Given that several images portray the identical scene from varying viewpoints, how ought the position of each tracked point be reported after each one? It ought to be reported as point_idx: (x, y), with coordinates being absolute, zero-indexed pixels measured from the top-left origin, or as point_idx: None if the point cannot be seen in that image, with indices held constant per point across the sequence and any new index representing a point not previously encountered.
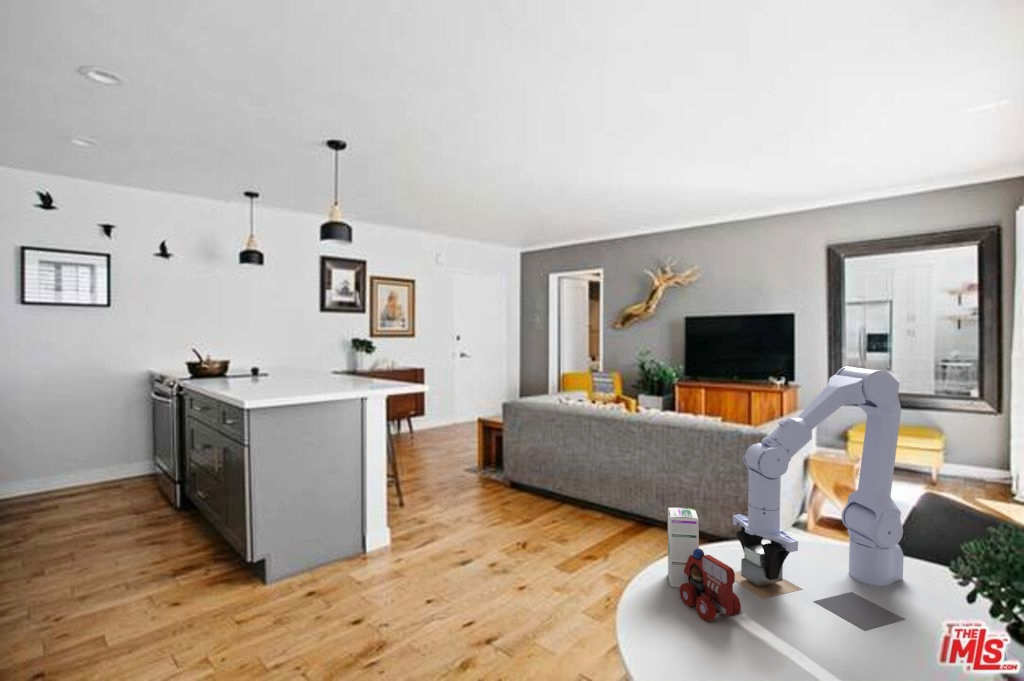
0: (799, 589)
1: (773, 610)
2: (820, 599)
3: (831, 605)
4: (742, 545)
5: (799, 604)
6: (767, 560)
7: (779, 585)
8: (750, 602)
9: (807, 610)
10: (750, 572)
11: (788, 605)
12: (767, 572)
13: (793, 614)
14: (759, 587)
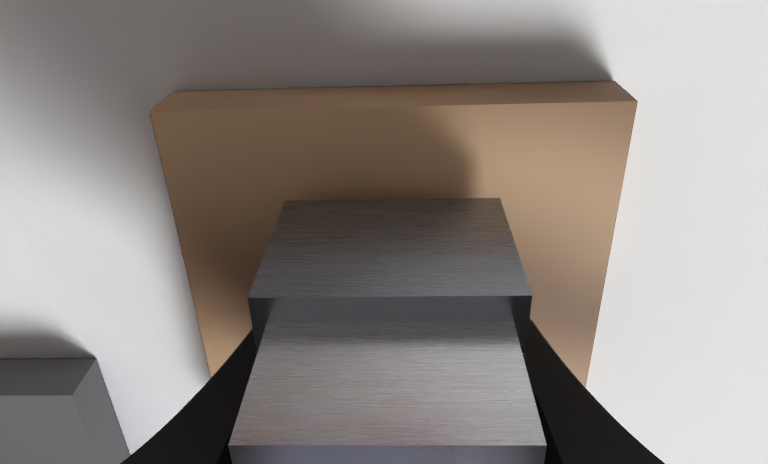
0: None
1: (109, 128)
2: (92, 442)
3: (17, 443)
4: (642, 462)
5: (161, 334)
6: (199, 444)
7: None
8: (251, 44)
9: (88, 324)
10: (380, 241)
11: (160, 269)
12: None
13: (46, 216)
14: None
